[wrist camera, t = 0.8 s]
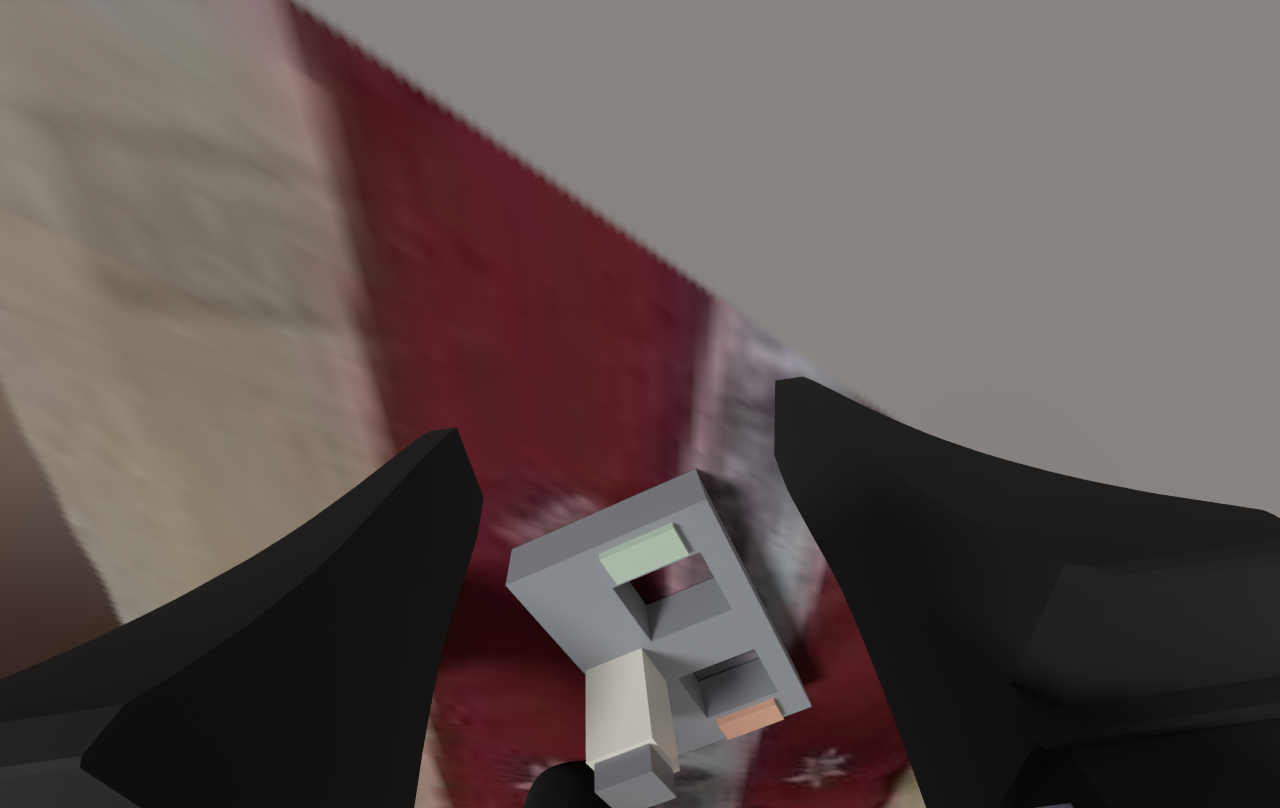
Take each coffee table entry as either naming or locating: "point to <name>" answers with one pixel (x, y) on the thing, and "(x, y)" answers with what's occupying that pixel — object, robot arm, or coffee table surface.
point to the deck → (663, 609)
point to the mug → (565, 788)
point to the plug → (630, 733)
